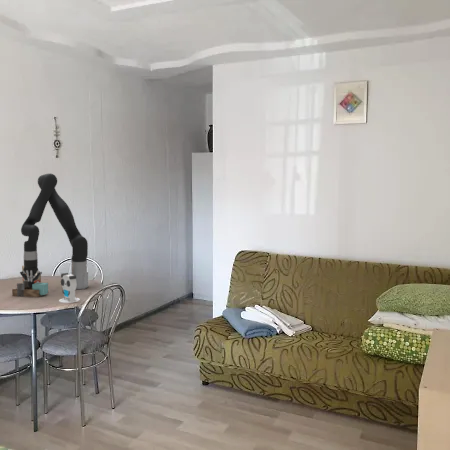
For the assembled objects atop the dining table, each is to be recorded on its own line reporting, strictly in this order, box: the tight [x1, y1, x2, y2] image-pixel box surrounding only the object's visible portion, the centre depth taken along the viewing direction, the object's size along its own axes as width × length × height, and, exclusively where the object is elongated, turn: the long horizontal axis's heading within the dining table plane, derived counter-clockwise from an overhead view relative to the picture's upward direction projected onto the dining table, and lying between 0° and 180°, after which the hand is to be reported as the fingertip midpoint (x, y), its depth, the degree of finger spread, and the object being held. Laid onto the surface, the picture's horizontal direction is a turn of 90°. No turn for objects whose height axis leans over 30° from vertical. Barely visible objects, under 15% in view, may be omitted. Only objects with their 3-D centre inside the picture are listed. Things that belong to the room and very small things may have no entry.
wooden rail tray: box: [11, 280, 43, 298], centre depth 282 cm, size 16×8×8 cm, turn 85°
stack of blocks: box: [21, 265, 42, 283], centre depth 304 cm, size 21×6×12 cm, turn 36°
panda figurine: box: [58, 272, 81, 304], centre depth 272 cm, size 12×11×15 cm
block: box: [32, 282, 49, 296], centre depth 282 cm, size 7×5×6 cm
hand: (31, 287), depth 282 cm, fingers closed
